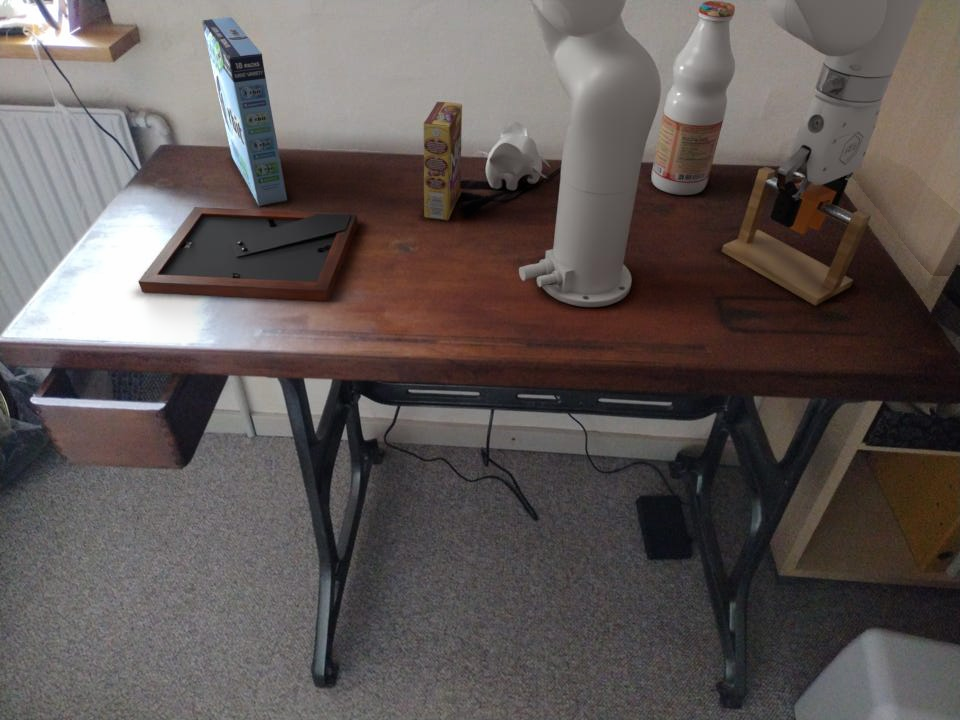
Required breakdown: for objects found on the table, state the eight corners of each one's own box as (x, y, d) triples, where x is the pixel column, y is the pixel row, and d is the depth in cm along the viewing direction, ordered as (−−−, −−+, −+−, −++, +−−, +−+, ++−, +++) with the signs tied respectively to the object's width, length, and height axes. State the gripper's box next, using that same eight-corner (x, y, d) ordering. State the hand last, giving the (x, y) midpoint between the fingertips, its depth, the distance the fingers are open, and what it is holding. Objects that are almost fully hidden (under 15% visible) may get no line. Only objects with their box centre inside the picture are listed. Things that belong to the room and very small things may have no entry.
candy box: (451, 222, 106) (449, 125, 96) (424, 218, 107) (420, 123, 97) (462, 195, 113) (462, 102, 103) (437, 192, 113) (434, 100, 103)
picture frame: (357, 224, 105) (197, 217, 106) (356, 212, 104) (194, 205, 105) (328, 301, 90) (142, 292, 91) (326, 288, 89) (137, 279, 90)
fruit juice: (639, 182, 117) (671, 3, 99) (670, 166, 122) (707, -8, 104) (685, 202, 112) (729, 17, 94) (716, 184, 117) (764, 5, 99)
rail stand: (815, 306, 91) (849, 225, 83) (721, 251, 101) (743, 174, 93) (850, 287, 95) (886, 207, 87) (756, 236, 105) (780, 160, 96)
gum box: (232, 158, 122) (199, 19, 106) (261, 153, 123) (232, 16, 108) (258, 207, 109) (225, 57, 94) (290, 200, 110) (262, 52, 95)
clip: (802, 234, 91) (819, 196, 87) (777, 222, 93) (793, 183, 90) (819, 229, 93) (836, 191, 89) (794, 217, 95) (810, 179, 92)
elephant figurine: (544, 200, 112) (549, 148, 106) (472, 192, 114) (473, 140, 108) (552, 174, 119) (556, 124, 113) (484, 167, 121) (485, 117, 115)
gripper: (836, 108, 75) (786, 243, 86) (922, 79, 82) (866, 207, 93) (778, 87, 79) (739, 218, 91) (865, 61, 87) (818, 185, 98)
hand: (804, 212), depth 92 cm, fingers open, 9 cm apart
